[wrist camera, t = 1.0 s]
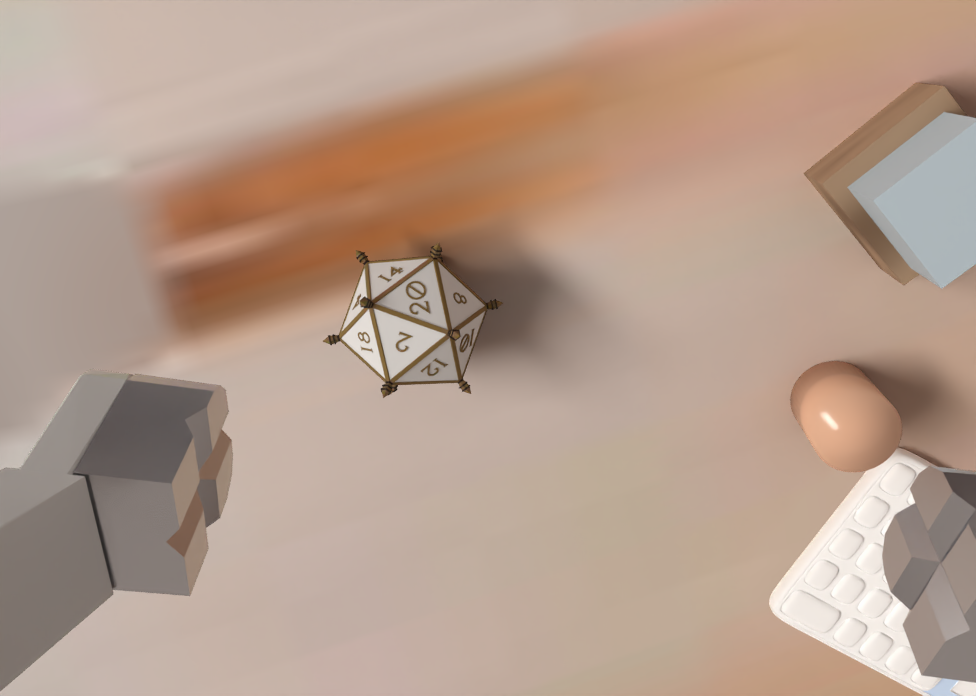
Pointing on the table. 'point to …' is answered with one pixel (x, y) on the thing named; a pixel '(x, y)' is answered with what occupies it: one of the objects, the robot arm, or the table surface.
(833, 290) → the table surface
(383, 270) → the game die
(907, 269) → the walnut block
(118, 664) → the table surface
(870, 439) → the terracotta capsule
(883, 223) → the blue-grey cube
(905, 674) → the calculator
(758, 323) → the table surface
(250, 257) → the table surface
